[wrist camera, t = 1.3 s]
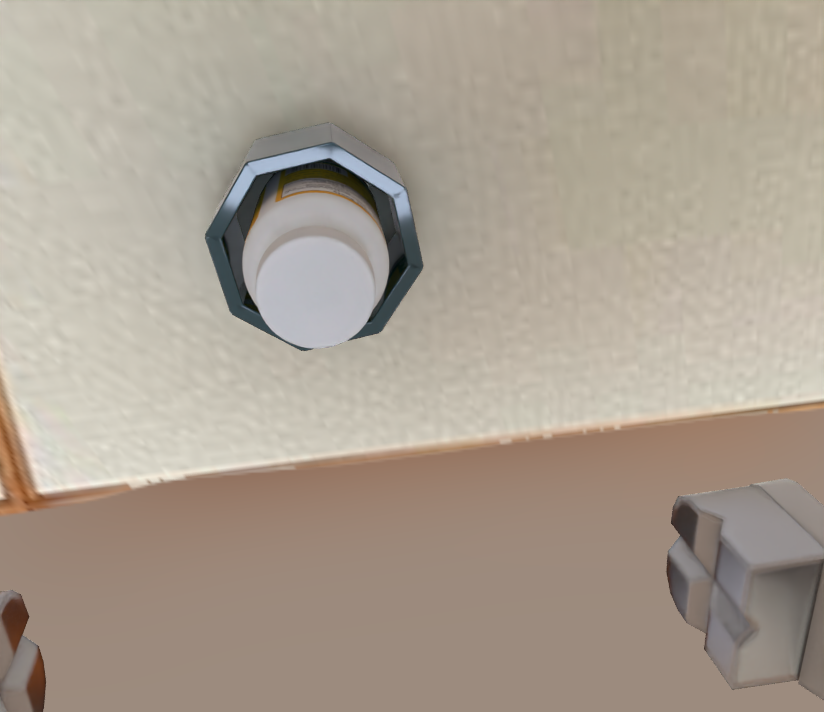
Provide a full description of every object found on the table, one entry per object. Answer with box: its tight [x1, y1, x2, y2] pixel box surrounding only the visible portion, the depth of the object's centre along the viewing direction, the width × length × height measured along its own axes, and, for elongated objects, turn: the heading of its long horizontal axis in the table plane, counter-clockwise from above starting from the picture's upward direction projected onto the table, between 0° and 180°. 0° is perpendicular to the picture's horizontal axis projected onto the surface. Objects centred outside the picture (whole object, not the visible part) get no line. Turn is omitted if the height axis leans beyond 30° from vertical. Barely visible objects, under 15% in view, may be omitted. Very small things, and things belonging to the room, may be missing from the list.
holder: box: [205, 122, 423, 351], centre depth 32 cm, size 8×8×5 cm
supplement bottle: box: [242, 160, 389, 349], centre depth 30 cm, size 5×5×10 cm
